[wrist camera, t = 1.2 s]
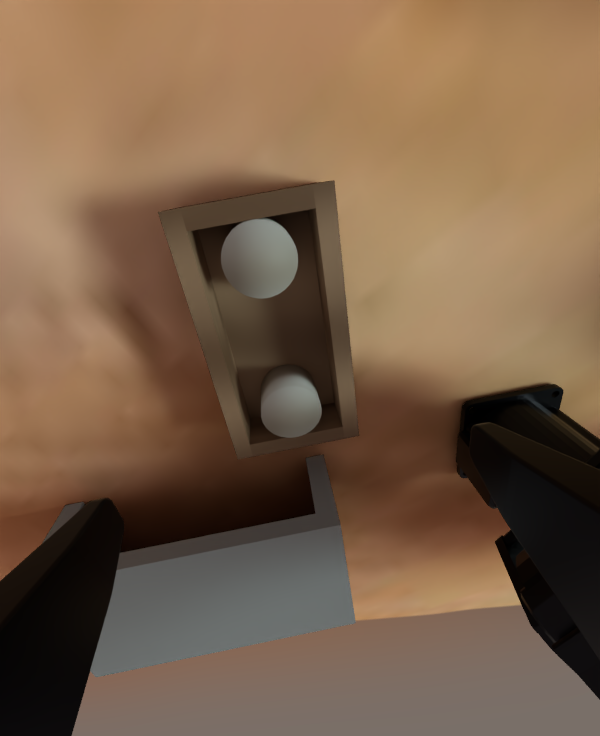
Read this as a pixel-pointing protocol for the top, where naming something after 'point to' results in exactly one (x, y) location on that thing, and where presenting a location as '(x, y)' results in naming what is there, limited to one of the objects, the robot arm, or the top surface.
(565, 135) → the top surface
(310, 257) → the walnut tray
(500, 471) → the robot arm
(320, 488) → the grey shelf
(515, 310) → the top surface
